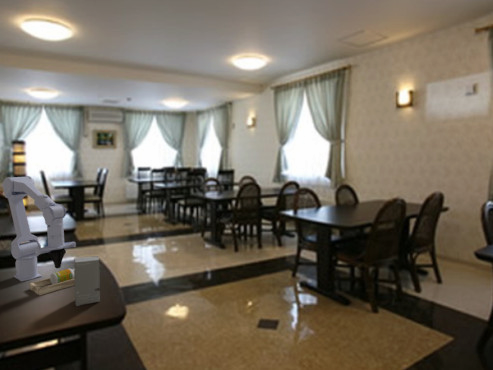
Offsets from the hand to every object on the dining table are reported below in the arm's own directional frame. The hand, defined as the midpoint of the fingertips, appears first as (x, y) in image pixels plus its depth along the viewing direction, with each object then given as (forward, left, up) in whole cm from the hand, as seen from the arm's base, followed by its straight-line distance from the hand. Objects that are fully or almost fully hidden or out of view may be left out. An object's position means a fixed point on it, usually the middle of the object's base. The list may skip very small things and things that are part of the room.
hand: (57, 267), depth 139 cm
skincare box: (+24, 0, -8) cm, 25 cm away
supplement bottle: (0, -2, -5) cm, 5 cm away
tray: (0, +1, -7) cm, 7 cm away
